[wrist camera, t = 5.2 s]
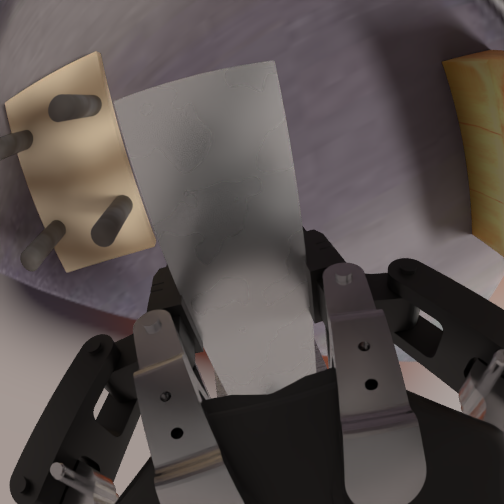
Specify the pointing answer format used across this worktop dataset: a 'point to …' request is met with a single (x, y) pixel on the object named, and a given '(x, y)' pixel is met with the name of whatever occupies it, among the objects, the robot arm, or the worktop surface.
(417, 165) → the worktop surface
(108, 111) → the rack
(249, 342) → the grey pegged bar
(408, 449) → the robot arm
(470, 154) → the bread
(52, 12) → the worktop surface
